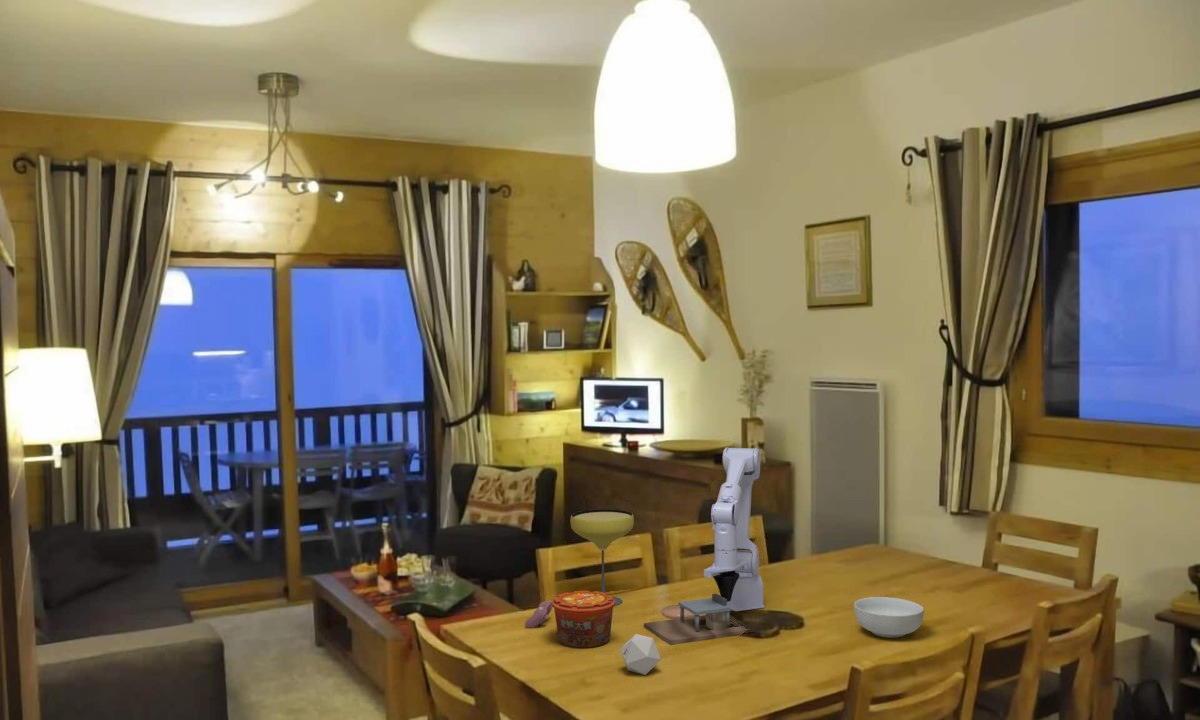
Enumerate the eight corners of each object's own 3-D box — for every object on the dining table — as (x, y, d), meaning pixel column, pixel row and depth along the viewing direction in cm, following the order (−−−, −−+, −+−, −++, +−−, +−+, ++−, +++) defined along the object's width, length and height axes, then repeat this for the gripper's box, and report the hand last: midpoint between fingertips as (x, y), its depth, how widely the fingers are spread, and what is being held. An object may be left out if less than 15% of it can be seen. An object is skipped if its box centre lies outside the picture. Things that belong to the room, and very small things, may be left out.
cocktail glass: (561, 607, 274) (560, 518, 273) (586, 591, 291) (585, 507, 290) (621, 613, 267) (620, 522, 266) (644, 596, 284) (642, 510, 283)
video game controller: (538, 635, 254) (549, 611, 253) (522, 626, 255) (534, 603, 254) (547, 624, 264) (558, 601, 263) (532, 615, 265) (543, 593, 264)
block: (719, 624, 256) (719, 605, 255) (727, 628, 252) (726, 609, 252) (706, 626, 254) (705, 607, 254) (713, 630, 250) (713, 611, 250)
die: (627, 665, 227) (609, 639, 222) (659, 646, 227) (642, 619, 223) (638, 689, 220) (620, 662, 215) (671, 669, 220) (654, 642, 216)
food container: (594, 654, 233) (593, 610, 233) (539, 644, 242) (538, 601, 241) (628, 636, 247) (627, 594, 246) (575, 627, 255) (574, 586, 255)
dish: (689, 606, 272) (688, 603, 272) (705, 616, 263) (705, 612, 263) (656, 611, 269) (656, 607, 269) (671, 620, 259) (671, 617, 259)
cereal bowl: (887, 647, 235) (886, 618, 234) (840, 629, 249) (839, 602, 249) (938, 636, 242) (938, 608, 242) (890, 619, 257) (889, 593, 257)
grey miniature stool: (712, 615, 258) (712, 591, 258) (731, 626, 249) (730, 601, 249) (678, 620, 255) (678, 596, 254) (696, 631, 245) (695, 605, 245)
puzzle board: (725, 616, 263) (725, 612, 263) (755, 632, 248) (755, 628, 248) (643, 627, 254) (643, 623, 254) (670, 644, 239) (670, 640, 239)
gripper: (732, 542, 261) (733, 592, 262) (694, 550, 252) (695, 602, 252) (753, 546, 256) (753, 597, 256) (715, 554, 246) (715, 608, 247)
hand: (726, 600), depth 254 cm, fingers closed
